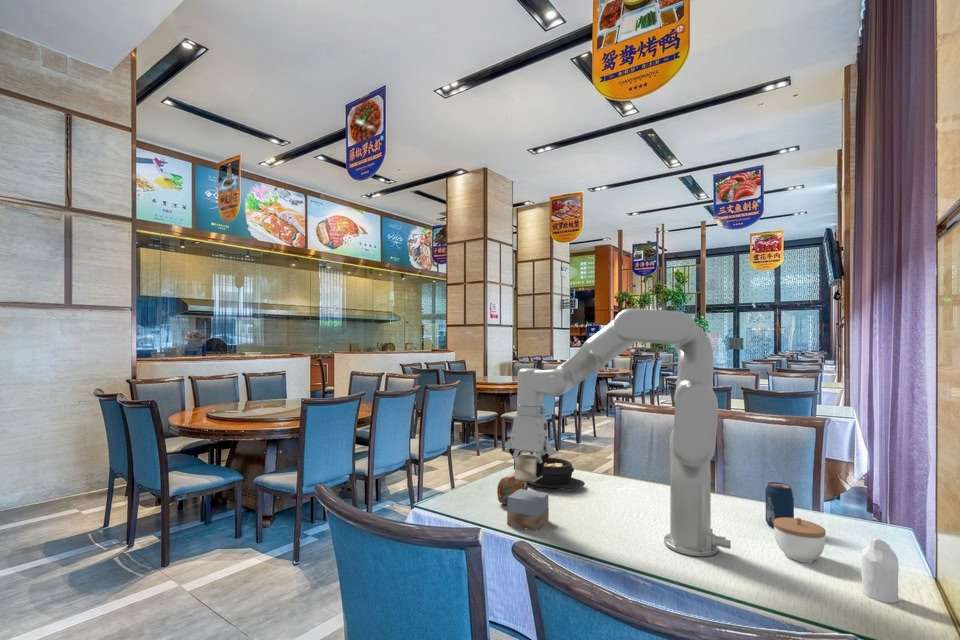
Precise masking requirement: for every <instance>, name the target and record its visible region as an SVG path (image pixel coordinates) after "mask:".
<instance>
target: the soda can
mask: <svg viewBox="0 0 960 640" xmlns="http://www.w3.org/2000/svg"><path fill="white" fill-rule="evenodd" d="M794 496H795V495H794V491H793V489H792V486H791V485H789V484H787V483H785V482H784V483H783V482H776V481H773V482H772V481H771V482H770V481H769V482H767V486H766V488H765V522H766V524H767V525H768V527H769V528H771V529H773V530H774V520H775V519H776V518H795V506H794V505H795V504H794V503H795V501H794V500H795V499H794V498H795V497H794Z"/></svg>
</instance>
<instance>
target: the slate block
mask: <svg viewBox="0 0 960 640" xmlns="http://www.w3.org/2000/svg"><path fill="white" fill-rule="evenodd" d="M549 495H550V494H549V493H548V492H543V491H535V490H529V489H527V490H524V489H519V490H517V491H516V492H514V493H513V494H511V495H510V496H508V505H507V511H508V512H514V513H519V514H524V515H529V516H534V517H538V516H539V515H540V514H542V513H543V512H544V511H545V510H546V509H547V508H549Z"/></svg>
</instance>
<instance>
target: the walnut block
mask: <svg viewBox="0 0 960 640" xmlns="http://www.w3.org/2000/svg"><path fill="white" fill-rule="evenodd" d="M549 513H550V512H549V507H548V508H547V509H546V510H545V511H544V512H543V513H542V514H540V515H539V516H538V517H534V516H529V515H524V514H519V513H514V512H508V511H507V512H506V514H507V515H506V519H507V520H506V525H507V526H512V527H515V528H516V527H517V528H520V527H521V529H525V528H527V529H526V530H530V531H535V532H538V531H539V530H540V529H541V528H542V527H543V526H544V525H546V524H547V523H548V522H549V517H550V515H549ZM545 523H546V524H545ZM537 530H538V531H537Z"/></svg>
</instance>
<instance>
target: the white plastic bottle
mask: <svg viewBox="0 0 960 640" xmlns="http://www.w3.org/2000/svg"><path fill="white" fill-rule="evenodd" d="M894 551H895V550H893V549H892V548H891V546H890V544H888V543H887V542H886V541H885V540H884V541H883V540H882V539H881V538H875V539H870V540H869V543H868V545H867V546H865V547H864V548H863V549H862V550H861V584H862V585H861V586H862V587H861V590H862V594H863V595H864V596H866V597H868V598H870V599H872V600H875V601H878V602H881V603H886V604H896V603H898V602H899V560H898V559H899V558H898V556H897V554H896V553H895V552H894Z"/></svg>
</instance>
